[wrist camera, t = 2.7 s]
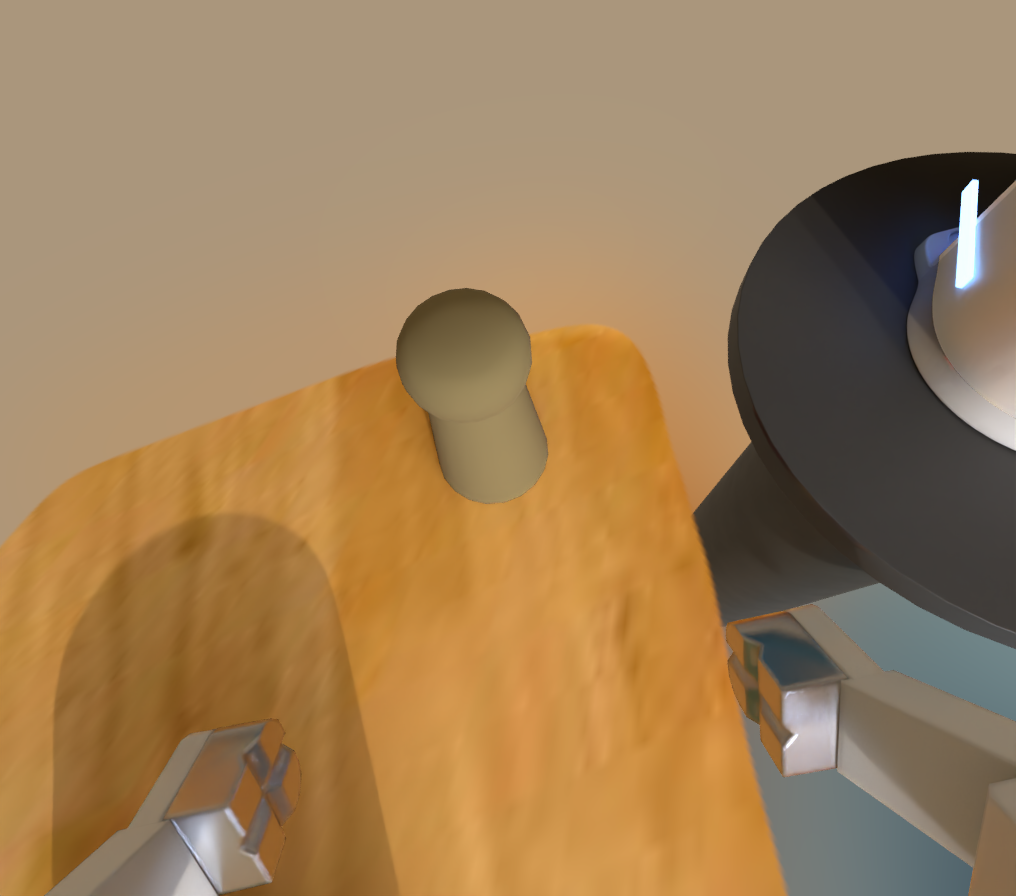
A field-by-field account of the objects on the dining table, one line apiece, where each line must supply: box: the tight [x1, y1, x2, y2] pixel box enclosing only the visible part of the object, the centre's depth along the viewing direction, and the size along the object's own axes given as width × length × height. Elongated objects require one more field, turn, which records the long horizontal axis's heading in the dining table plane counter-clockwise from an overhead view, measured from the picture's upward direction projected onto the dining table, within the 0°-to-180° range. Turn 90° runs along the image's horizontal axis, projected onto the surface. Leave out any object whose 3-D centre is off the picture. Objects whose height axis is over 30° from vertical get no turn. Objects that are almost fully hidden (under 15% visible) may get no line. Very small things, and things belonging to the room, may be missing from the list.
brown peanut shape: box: [396, 288, 548, 504], centre depth 23 cm, size 6×6×11 cm
